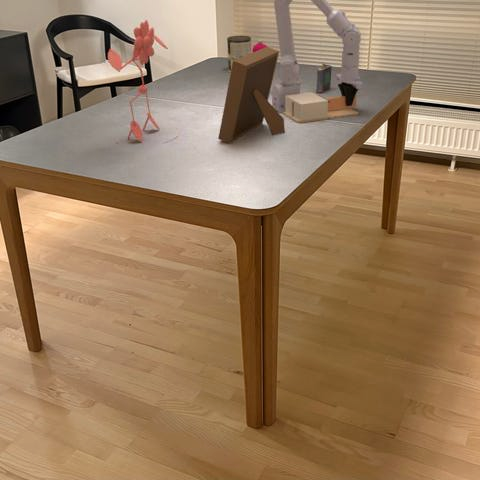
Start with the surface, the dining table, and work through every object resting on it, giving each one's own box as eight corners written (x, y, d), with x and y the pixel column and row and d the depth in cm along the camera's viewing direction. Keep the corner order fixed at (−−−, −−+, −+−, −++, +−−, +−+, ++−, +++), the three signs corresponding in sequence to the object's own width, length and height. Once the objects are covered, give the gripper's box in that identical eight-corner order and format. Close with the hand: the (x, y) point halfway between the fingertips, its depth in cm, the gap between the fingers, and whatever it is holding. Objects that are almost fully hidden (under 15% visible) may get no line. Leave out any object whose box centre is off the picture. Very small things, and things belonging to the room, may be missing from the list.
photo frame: (218, 141, 189) (215, 58, 177) (251, 122, 206) (250, 45, 194) (261, 149, 183) (262, 63, 171) (291, 128, 199) (294, 49, 187)
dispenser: (297, 123, 204) (298, 104, 201) (282, 113, 213) (282, 95, 210) (358, 114, 211) (359, 96, 208) (341, 105, 220) (341, 88, 218)
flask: (321, 93, 235) (322, 65, 230) (314, 92, 236) (315, 64, 231) (331, 88, 242) (333, 60, 237) (325, 87, 243) (326, 59, 238)
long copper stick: (304, 113, 209) (304, 102, 207) (302, 112, 210) (303, 101, 208) (356, 106, 215) (356, 95, 213) (354, 105, 216) (354, 94, 214)
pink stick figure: (110, 147, 187) (97, 27, 170) (153, 122, 208) (146, 13, 191) (154, 154, 182) (145, 30, 165) (194, 128, 203) (189, 16, 186)
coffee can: (223, 70, 272) (222, 37, 266) (241, 67, 278) (240, 34, 272) (238, 74, 265) (237, 40, 259) (256, 70, 271) (255, 37, 265)
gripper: (371, 68, 203) (368, 108, 210) (349, 60, 215) (347, 98, 222) (353, 70, 201) (350, 111, 207) (331, 62, 213) (329, 100, 219)
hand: (347, 104), depth 214 cm, fingers closed on long copper stick
